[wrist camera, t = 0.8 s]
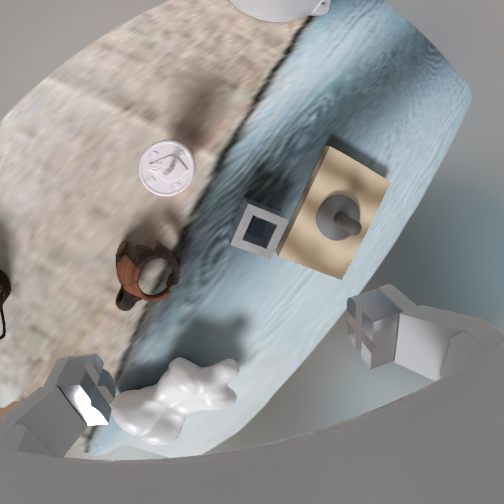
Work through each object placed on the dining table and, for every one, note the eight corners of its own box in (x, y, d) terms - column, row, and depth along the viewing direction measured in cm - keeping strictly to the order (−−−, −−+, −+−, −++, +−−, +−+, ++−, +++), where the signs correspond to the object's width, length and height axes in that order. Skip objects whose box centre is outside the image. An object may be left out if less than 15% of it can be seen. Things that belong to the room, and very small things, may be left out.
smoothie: (194, 186, 42) (189, 207, 29) (150, 182, 41) (126, 202, 28) (200, 142, 40) (197, 142, 27) (155, 138, 38) (132, 137, 26)
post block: (324, 145, 42) (348, 147, 35) (383, 180, 45) (412, 188, 38) (275, 251, 47) (288, 272, 40) (336, 274, 50) (356, 297, 43)
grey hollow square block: (243, 196, 43) (248, 203, 39) (280, 211, 45) (288, 220, 40) (227, 233, 45) (230, 244, 40) (263, 247, 47) (270, 259, 42)
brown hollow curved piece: (127, 221, 43) (144, 237, 37) (173, 244, 49) (197, 262, 43) (93, 289, 42) (106, 315, 36) (141, 305, 49) (160, 331, 43)
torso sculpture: (166, 420, 61) (263, 365, 54) (161, 456, 51) (269, 409, 44) (110, 386, 55) (202, 317, 48) (98, 424, 46) (197, 363, 39)
